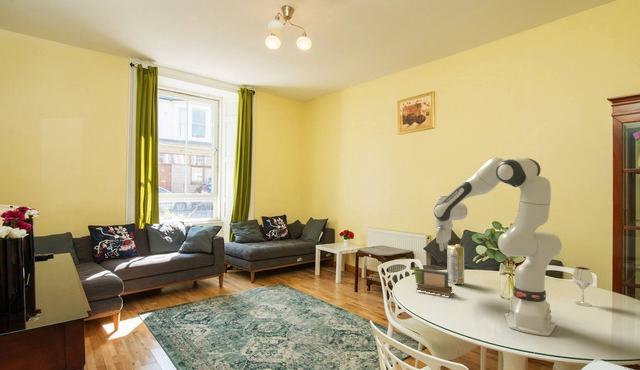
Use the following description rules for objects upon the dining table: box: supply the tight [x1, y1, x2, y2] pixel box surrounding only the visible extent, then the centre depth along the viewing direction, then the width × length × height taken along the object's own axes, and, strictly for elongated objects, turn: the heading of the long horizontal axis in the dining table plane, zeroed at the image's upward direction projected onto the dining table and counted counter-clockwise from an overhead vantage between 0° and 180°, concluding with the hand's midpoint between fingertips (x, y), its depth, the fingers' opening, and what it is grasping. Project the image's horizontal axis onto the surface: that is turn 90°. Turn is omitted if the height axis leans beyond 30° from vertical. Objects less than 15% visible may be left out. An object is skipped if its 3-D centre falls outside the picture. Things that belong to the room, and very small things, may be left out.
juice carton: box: [446, 243, 465, 285], centre depth 200 cm, size 9×8×24 cm
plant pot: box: [413, 268, 423, 284], centre depth 196 cm, size 9×9×9 cm
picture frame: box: [421, 268, 449, 288], centre depth 181 cm, size 3×14×10 cm, turn 56°
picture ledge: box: [416, 281, 453, 297], centre depth 181 cm, size 10×17×4 cm, turn 56°
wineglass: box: [572, 266, 594, 307], centre depth 164 cm, size 8×8×18 cm
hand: (443, 249), depth 181 cm, fingers open, 8 cm apart
